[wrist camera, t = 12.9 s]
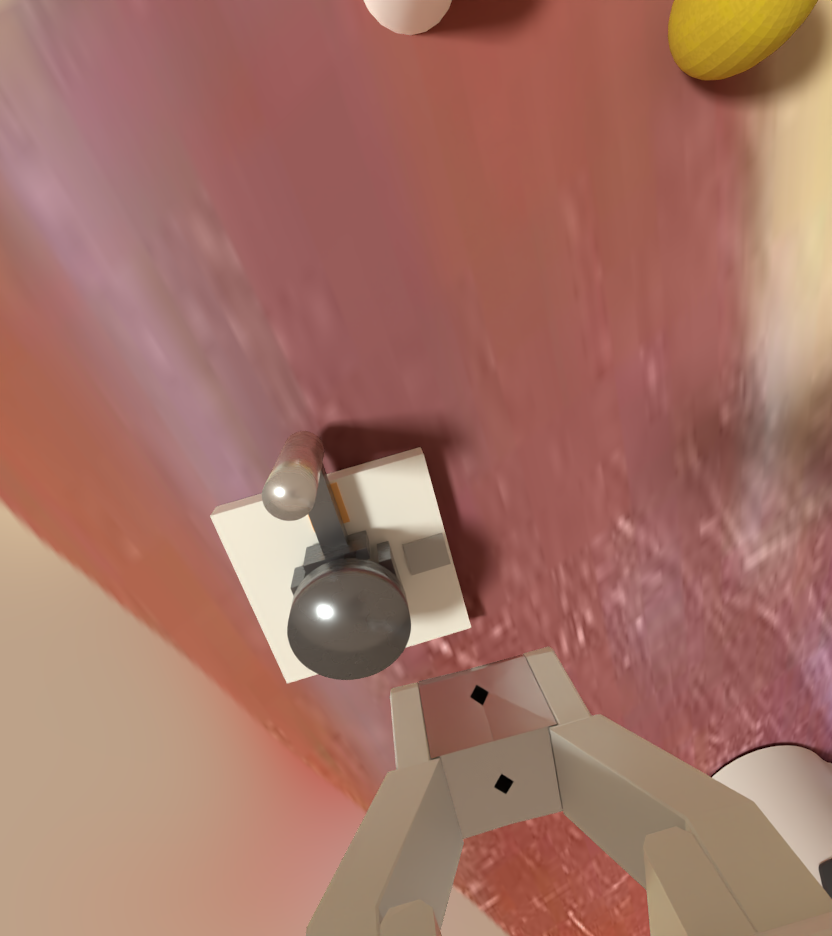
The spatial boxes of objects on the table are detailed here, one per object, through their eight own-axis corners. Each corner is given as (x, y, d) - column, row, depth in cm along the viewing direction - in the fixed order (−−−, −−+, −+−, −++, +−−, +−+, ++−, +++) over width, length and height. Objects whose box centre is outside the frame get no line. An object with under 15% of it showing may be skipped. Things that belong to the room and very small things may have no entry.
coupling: (354, 415, 29) (354, 452, 22) (413, 606, 34) (429, 687, 27) (241, 447, 29) (204, 495, 22) (317, 635, 34) (307, 723, 27)
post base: (466, 615, 37) (482, 660, 33) (289, 668, 37) (280, 722, 32) (420, 446, 32) (431, 471, 28) (216, 506, 32) (192, 541, 27)
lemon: (650, 119, 28) (759, 52, 20) (628, 4, 26) (740, -117, 18) (740, 80, 28) (884, -2, 20) (725, -39, 26) (877, -178, 18)
